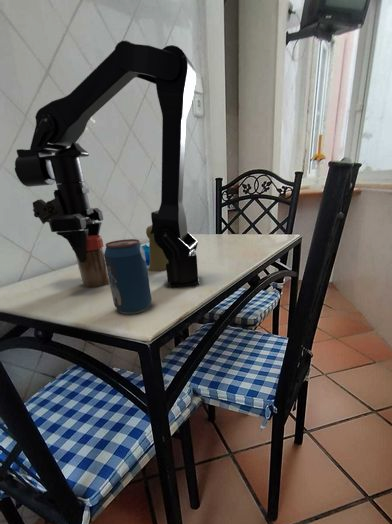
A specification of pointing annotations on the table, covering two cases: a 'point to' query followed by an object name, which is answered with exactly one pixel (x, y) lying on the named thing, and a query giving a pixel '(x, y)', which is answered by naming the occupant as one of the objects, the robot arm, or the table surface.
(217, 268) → the table surface
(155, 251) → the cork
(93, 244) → the lid
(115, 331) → the table surface
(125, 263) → the soda can
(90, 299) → the table surface
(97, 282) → the jar
